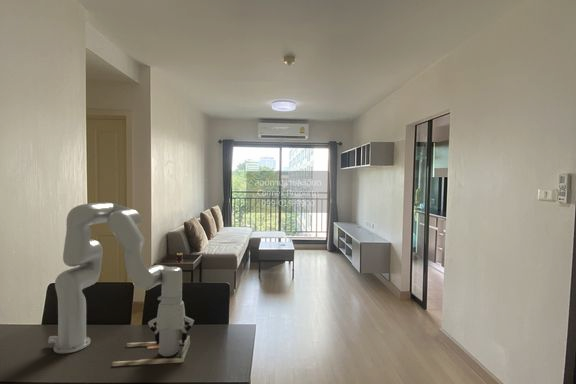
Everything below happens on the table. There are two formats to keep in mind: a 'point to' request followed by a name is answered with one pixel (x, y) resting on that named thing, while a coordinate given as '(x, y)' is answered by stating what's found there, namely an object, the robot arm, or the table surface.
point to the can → (168, 342)
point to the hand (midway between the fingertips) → (171, 342)
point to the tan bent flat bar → (154, 361)
